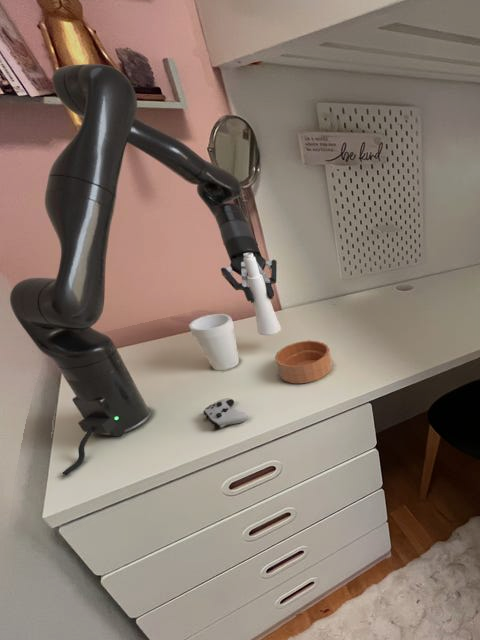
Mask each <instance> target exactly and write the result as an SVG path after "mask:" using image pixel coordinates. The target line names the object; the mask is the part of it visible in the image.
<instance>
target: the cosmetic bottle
mask: <svg viewBox="0 0 480 640" xmlns="http://www.w3.org/2000/svg"><path fill="white" fill-rule="evenodd" d="M243 255H244V258H243V260H244V263H245V267H246V270H247V273H248V276H247V281H248V287H249V288H250V291H251V293H252V296H253V298H254V303H252V305H253V309H254V315H255V319H256V328H257V333H258V334H259V336H273V335H277V334H278V333H280V332H281V331H282V326H281V323H280V322H279V320H278V317H277V315H276V312H275V310H274V307H273V303H272V301H271V299H270V298H269V295H268V292H267V288H266V285H265V282H264V279H263V276H262V275H261V274H260V272H259V269H258V265H257V261H256V258H255V257H254V256H253V253H244V254H243Z"/></svg>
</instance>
